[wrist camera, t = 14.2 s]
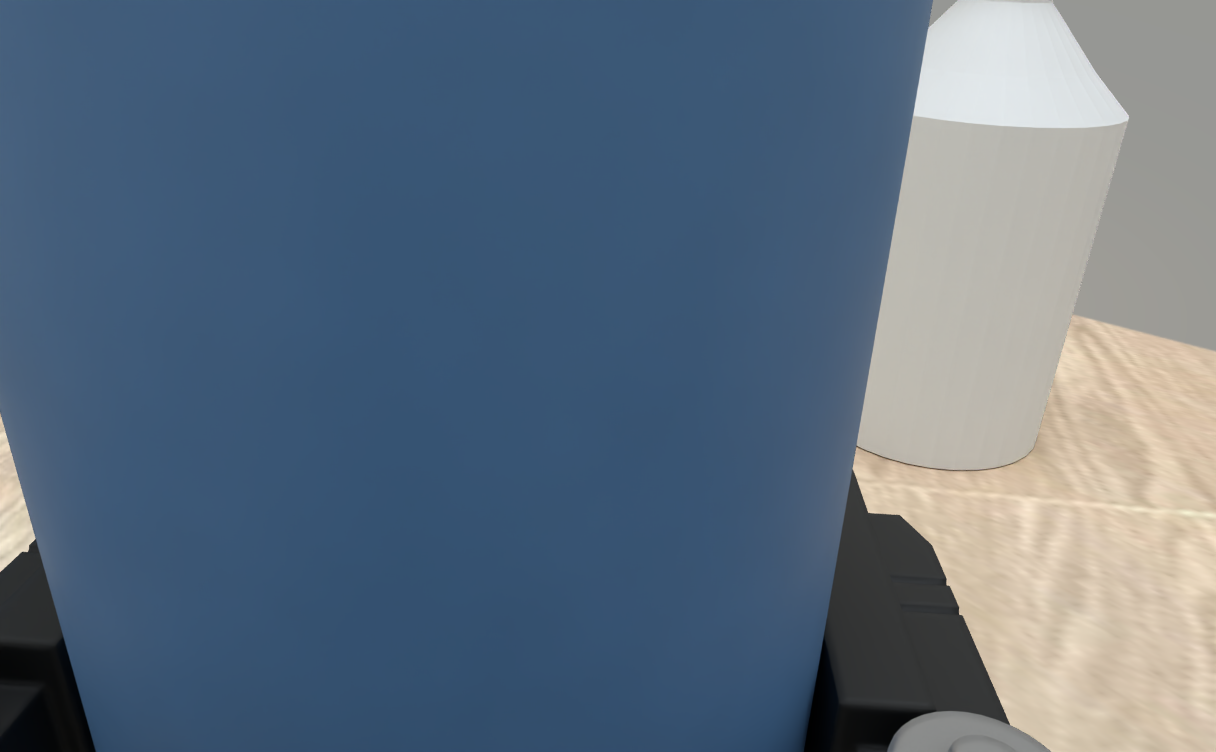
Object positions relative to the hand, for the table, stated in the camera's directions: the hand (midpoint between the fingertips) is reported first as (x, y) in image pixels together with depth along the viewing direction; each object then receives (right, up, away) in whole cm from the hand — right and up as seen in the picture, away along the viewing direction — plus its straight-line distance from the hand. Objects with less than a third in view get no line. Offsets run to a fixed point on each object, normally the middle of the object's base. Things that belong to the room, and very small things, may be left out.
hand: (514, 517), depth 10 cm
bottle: (+18, -1, +39) cm, 43 cm away
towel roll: (0, -7, +1) cm, 7 cm away
